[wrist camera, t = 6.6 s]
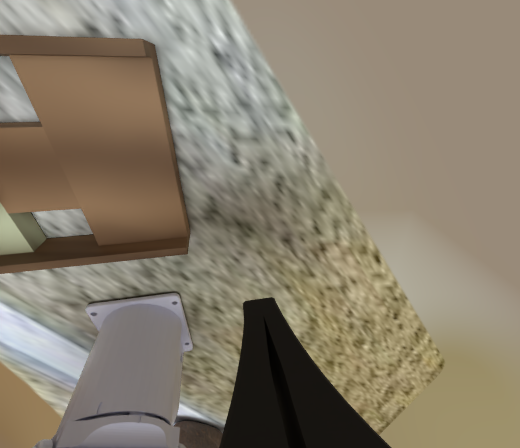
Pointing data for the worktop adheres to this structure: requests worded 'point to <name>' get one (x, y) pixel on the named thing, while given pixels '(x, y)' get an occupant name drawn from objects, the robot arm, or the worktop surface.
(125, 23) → the worktop surface
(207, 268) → the worktop surface
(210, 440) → the perforated stone tool
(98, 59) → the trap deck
